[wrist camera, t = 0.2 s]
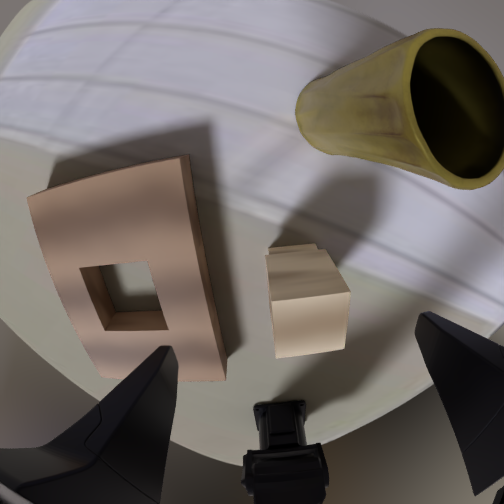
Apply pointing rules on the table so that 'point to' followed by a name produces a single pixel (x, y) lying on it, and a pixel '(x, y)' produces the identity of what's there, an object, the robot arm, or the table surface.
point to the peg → (306, 301)
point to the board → (133, 250)
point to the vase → (414, 109)
